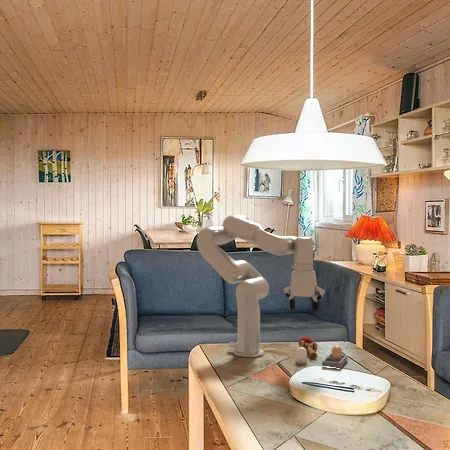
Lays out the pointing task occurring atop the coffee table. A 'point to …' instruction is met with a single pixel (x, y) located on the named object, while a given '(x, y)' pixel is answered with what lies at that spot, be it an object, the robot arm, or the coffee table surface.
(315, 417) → the coffee table surface
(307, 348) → the kendama
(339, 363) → the carton
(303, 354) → the egg
